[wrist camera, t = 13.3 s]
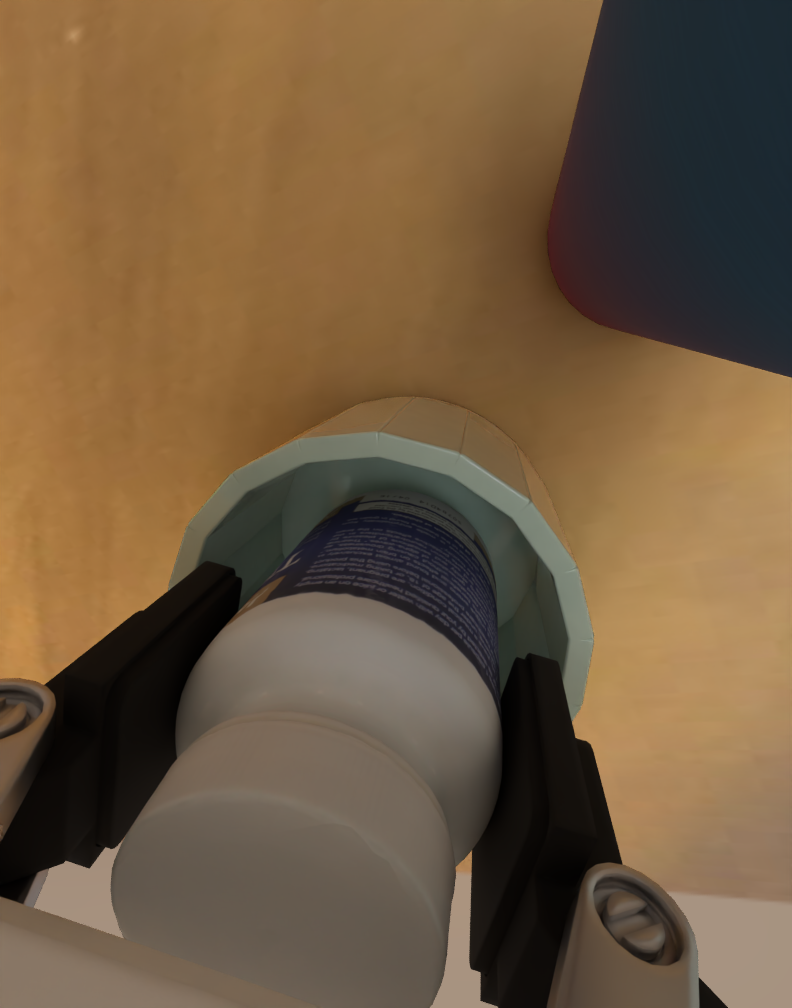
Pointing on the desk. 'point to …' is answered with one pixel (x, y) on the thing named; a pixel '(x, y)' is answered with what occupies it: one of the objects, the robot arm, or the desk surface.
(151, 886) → the pill bottle
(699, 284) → the cup
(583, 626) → the open cylindrical container
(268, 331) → the desk surface
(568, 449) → the desk surface
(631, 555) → the desk surface
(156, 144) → the desk surface
